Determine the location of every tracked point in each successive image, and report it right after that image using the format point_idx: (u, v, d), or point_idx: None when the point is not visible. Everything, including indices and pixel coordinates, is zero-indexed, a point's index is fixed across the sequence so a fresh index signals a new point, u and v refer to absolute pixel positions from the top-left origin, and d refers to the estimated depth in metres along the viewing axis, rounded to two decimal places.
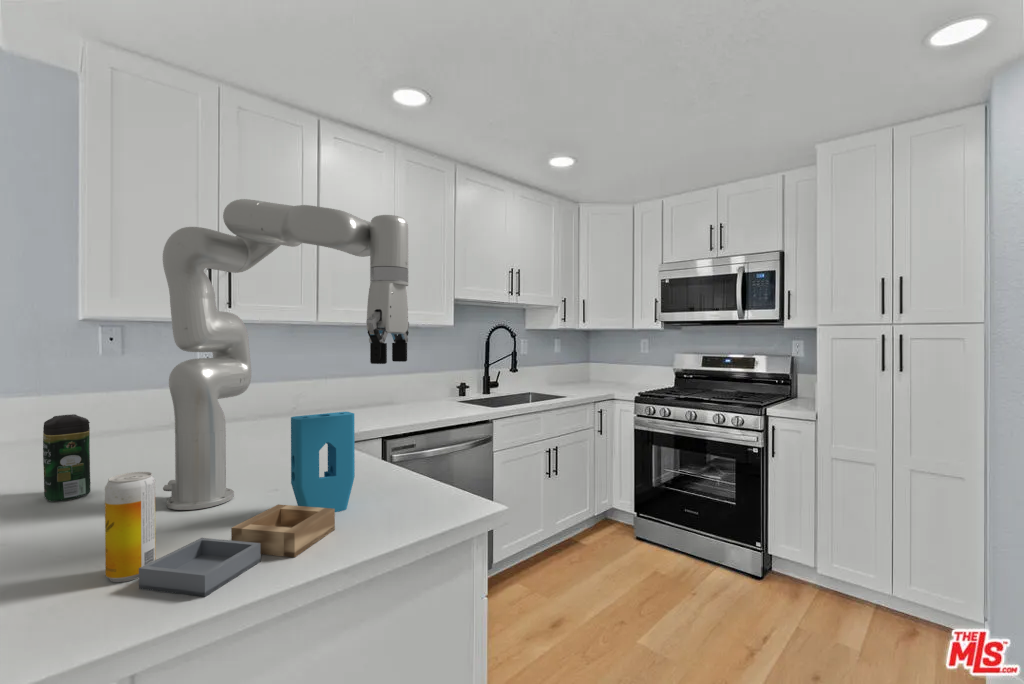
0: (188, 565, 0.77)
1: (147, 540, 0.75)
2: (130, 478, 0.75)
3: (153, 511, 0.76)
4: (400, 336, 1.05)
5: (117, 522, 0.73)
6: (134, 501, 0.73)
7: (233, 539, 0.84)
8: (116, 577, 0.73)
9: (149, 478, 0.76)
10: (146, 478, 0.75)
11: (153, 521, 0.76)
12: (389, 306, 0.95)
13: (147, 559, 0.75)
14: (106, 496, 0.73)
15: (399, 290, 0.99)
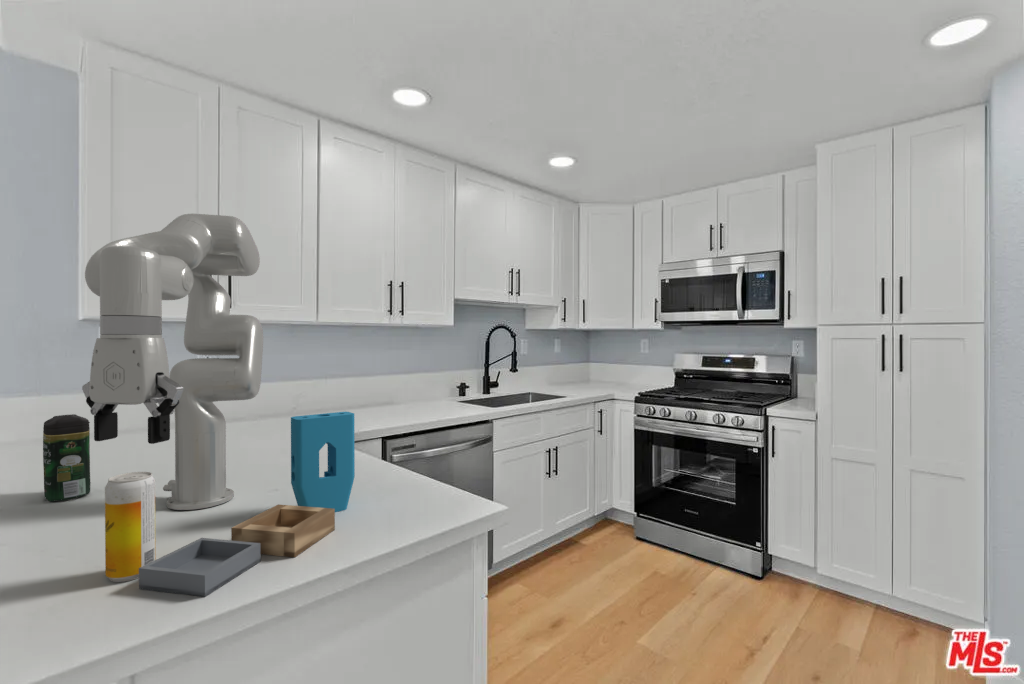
0: (188, 565, 0.77)
1: (147, 540, 0.75)
2: (130, 478, 0.75)
3: (153, 511, 0.76)
4: None
5: (117, 522, 0.73)
6: (134, 501, 0.73)
7: (233, 539, 0.84)
8: (116, 577, 0.73)
9: (149, 478, 0.76)
10: (146, 478, 0.75)
11: (153, 521, 0.76)
12: None
13: (147, 559, 0.75)
14: (106, 496, 0.73)
15: None
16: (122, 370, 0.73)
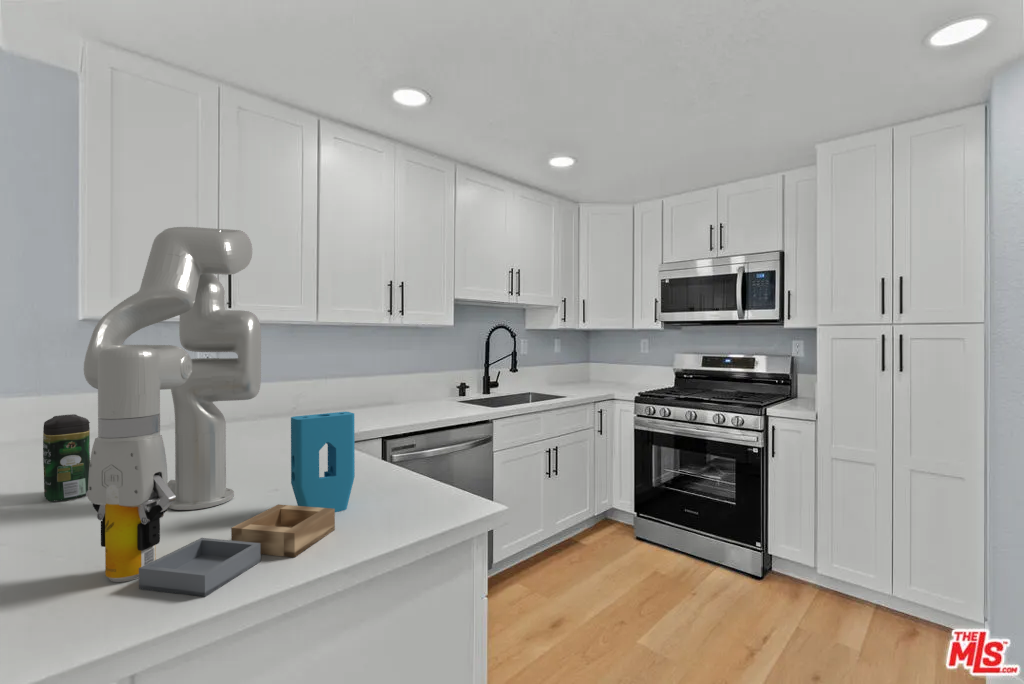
0: (188, 565, 0.77)
1: None
2: None
3: None
4: None
5: (117, 522, 0.73)
6: None
7: (233, 539, 0.84)
8: (116, 577, 0.73)
9: None
10: None
11: None
12: None
13: (146, 559, 0.75)
14: (106, 496, 0.73)
15: None
16: (120, 473, 0.72)
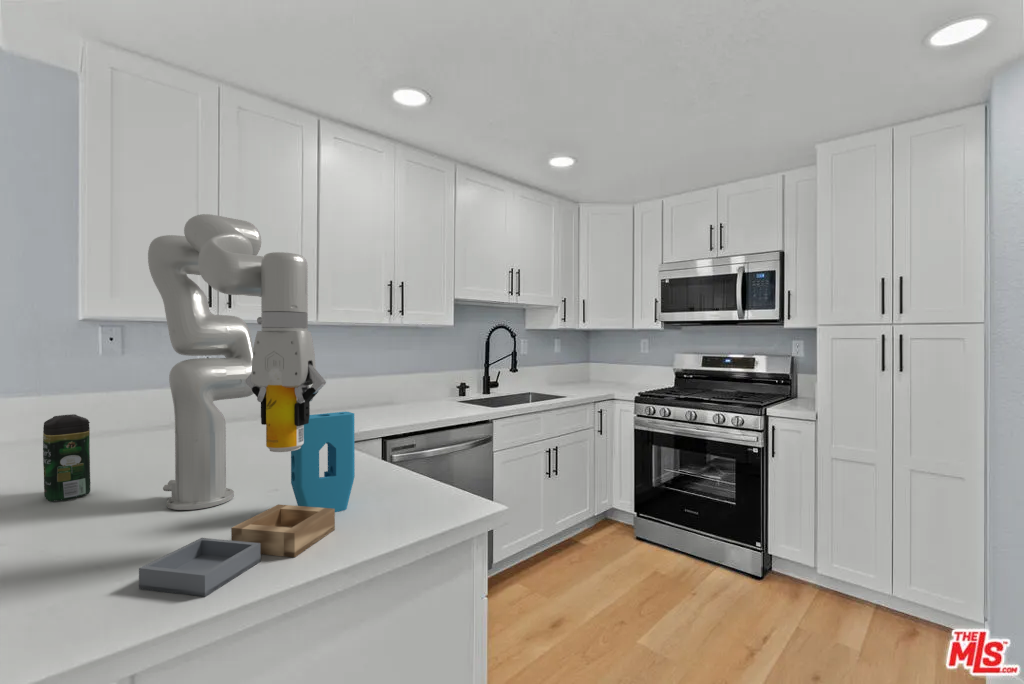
0: (188, 565, 0.77)
1: None
2: None
3: None
4: None
5: (279, 400, 0.85)
6: None
7: (233, 539, 0.84)
8: (278, 447, 0.85)
9: None
10: None
11: None
12: None
13: (300, 435, 0.87)
14: (269, 378, 0.85)
15: None
16: (282, 358, 0.85)
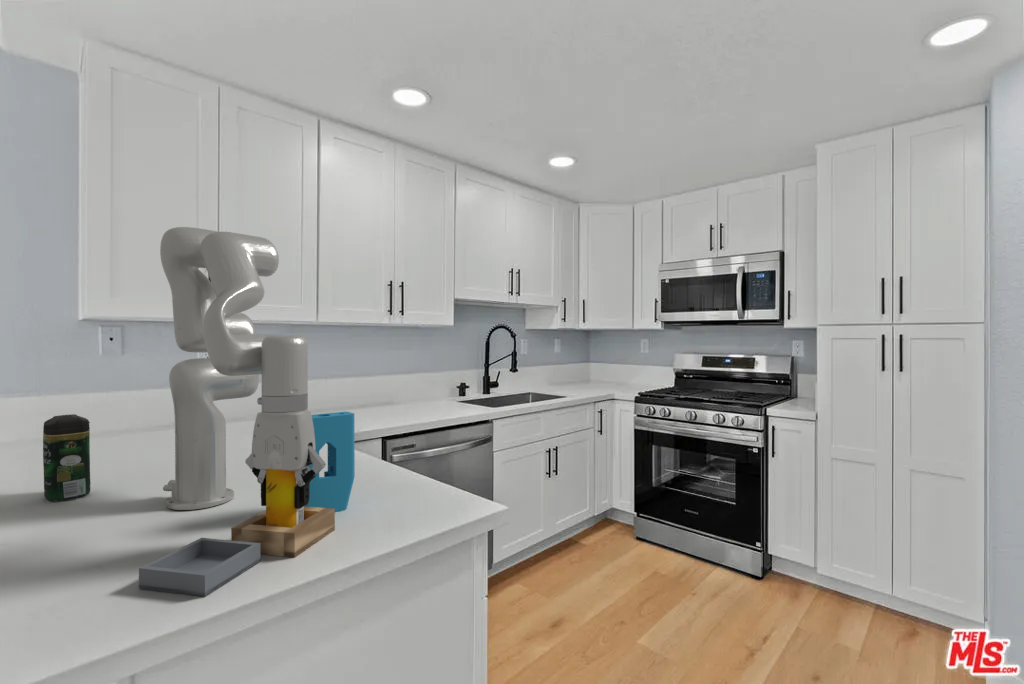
0: (188, 565, 0.77)
1: None
2: None
3: None
4: None
5: (279, 484, 0.85)
6: None
7: (233, 539, 0.84)
8: None
9: None
10: None
11: None
12: None
13: (299, 516, 0.88)
14: (269, 462, 0.86)
15: None
16: (282, 442, 0.85)
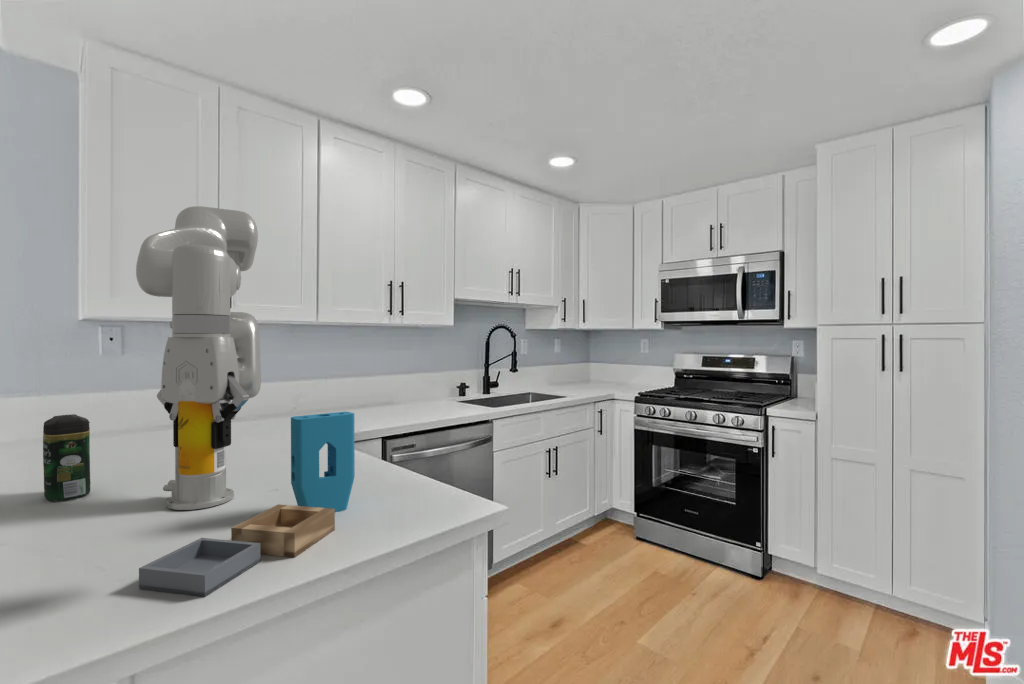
0: (188, 565, 0.77)
1: None
2: None
3: None
4: None
5: (192, 419, 0.72)
6: None
7: (233, 539, 0.84)
8: (190, 474, 0.72)
9: None
10: None
11: None
12: None
13: (219, 459, 0.74)
14: (180, 393, 0.73)
15: None
16: (195, 369, 0.72)
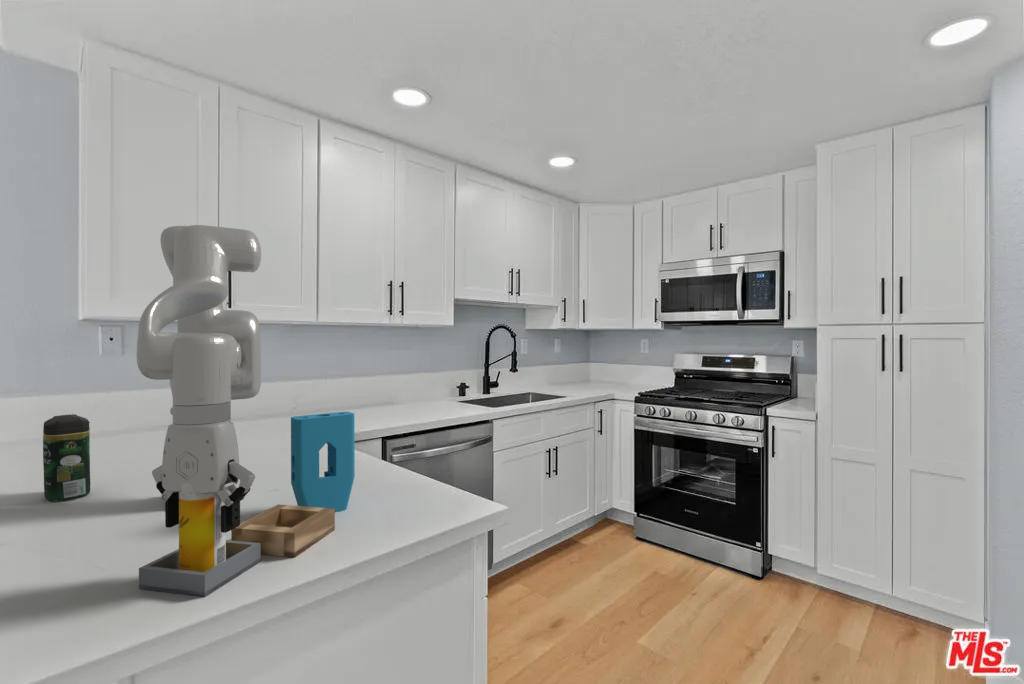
0: None
1: (219, 536, 0.75)
2: None
3: None
4: None
5: (192, 518, 0.72)
6: (208, 497, 0.73)
7: (233, 539, 0.84)
8: None
9: None
10: None
11: None
12: None
13: (219, 555, 0.75)
14: (181, 492, 0.73)
15: None
16: (195, 460, 0.72)
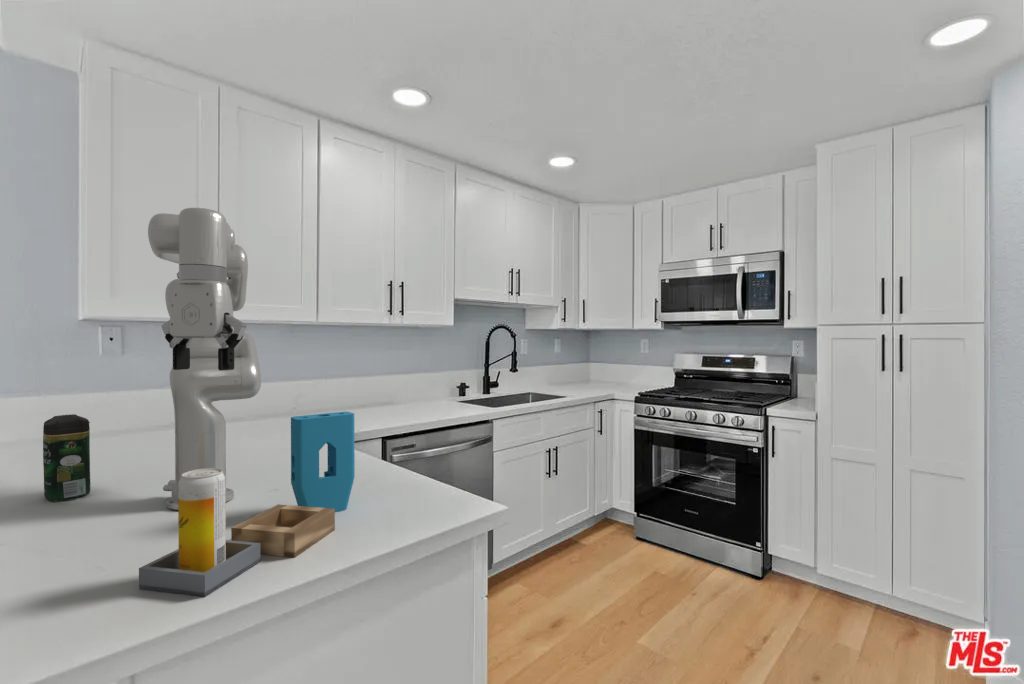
0: None
1: (219, 536, 0.75)
2: (202, 474, 0.75)
3: (224, 507, 0.76)
4: None
5: (192, 518, 0.72)
6: (207, 497, 0.73)
7: (233, 539, 0.84)
8: None
9: (220, 474, 0.76)
10: (218, 474, 0.75)
11: (224, 517, 0.76)
12: None
13: (219, 555, 0.75)
14: (180, 492, 0.73)
15: None
16: (197, 309, 0.88)
